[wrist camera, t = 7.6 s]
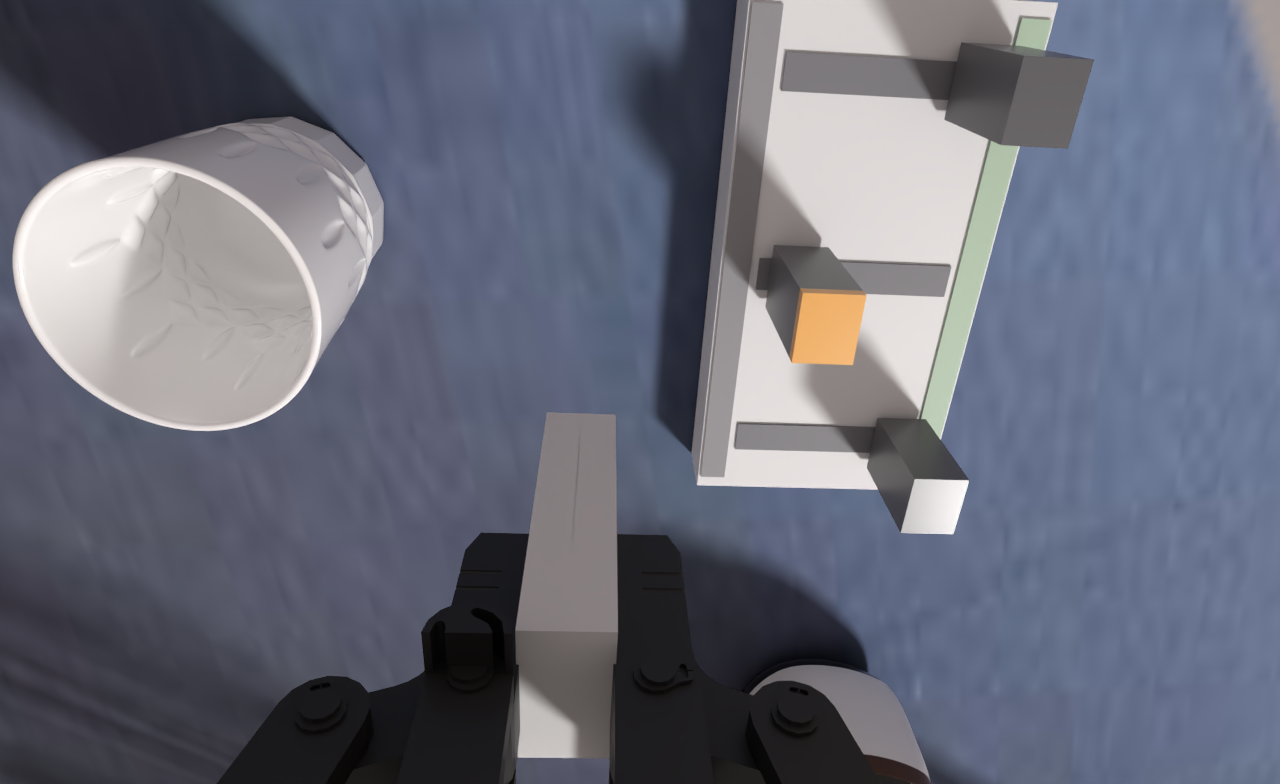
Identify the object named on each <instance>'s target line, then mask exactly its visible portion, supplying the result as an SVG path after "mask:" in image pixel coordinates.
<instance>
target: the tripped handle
mask: <svg viewBox="0 0 1280 784" xmlns="http://www.w3.org/2000/svg"><path fill="white" fill-rule="evenodd" d="M866 296H867V295H866V294H865V293H864V291H863V290H862V289H861V288H860V286H859V285H858V284H857V283H856V281H855V280H854V279H853V278H852V276H851V275H850V274H849V273H848V271H847V270H846V269H845V267H844V266H843V265H842V264H841V262H840V261H839V260H838V259H837V257H836V256H835V255H834V254H833V252H832V251H831V250H830V249H829V247H809V246H785V245H774V248H773V255H772V262H771V270H770V277H769V284H768V291H767V299H766V306H765V307H766V310H767V312H768V314H769V316H770V318H771V320H772V322H773V324H774V327H775V329H776V331H777V333H778V335H779V337H780V339H781V341H782V343H783V346H784V348H785V350H786V352H787V354H788V356H789V358H790V360H791V363H805V364H835V365H853V362H854V357H855V351H856V346H857V341H858V336H859V331H860V326H861V321H862V316H863V311H864V306H865V301H866Z"/></svg>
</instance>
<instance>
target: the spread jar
mask: <svg viewBox="0 0 1280 784" xmlns="http://www.w3.org/2000/svg"><path fill="white" fill-rule="evenodd" d="M775 681H796V682H800V683H803V684H807V685H810V686H811V687H813V688H815V689H816V690H818V691H820V692H821V693H823V694H824V695H825V696H826V697H827V698H828V699H829V700H830V701H831V703H832V704H833V705H834V706H835V707H836V709H837V711H838V712H839V714H840V716H841V717H842V719H843V721H844V722H845V724H846V726H847V727H848V729H849V731H850V732H851V734H852V736H853V737H854V739H855V741H856V742H857V744H858V746H859V747H860V749H861V751H862V752H863V754H864V756H865V757H866V759H867V761H868V762H869V764H870V766H871V767H872V769H873V771H874V772H875V774H876V776H877V777H878V779H879V781H880V782H881V784H931V781H930V778H929V774H928V771H927V768H926V765H925V762H924V759H923V757H922V754H921V751H920V749H919V747H918V744H917V742H916V739H915V737H914V734H913V732H912V729H911V727H910V724H909V722H908V720H907V717H906V715H905V713H904V710H903V708H902V706H901V704H900V703H899V701H898V699H897V697H896V695H895V694H894V693H893V691H892V690H891V689H890V688H889V687H888V686H887V685H886V684H885V683H884V682H882V681H881V680H879V679H878V678H876V677H875V676H873V675H871V674H869V673H867V672H865V671H863V670H860V669H858V668H856V667H853V666H851V665H847V664H844V663H840V662H836V661H831V660H824V659H798V660H791V661H786V662H783V663H780V664H777V665H774V666H772V667H770V668H768V669H767V670H765V671H763V672H762V673H760V674H759V675H758V676H757V677H756V678H754V679H753V680H752V681H751V682H750V684H749V685H748V686H747V687H746V689H745V690H744V693H747V694H750V695H754V694H755V693H756V692H757V691H758V690H759V689H760V688H761V687H762V686H764V685H767V684H770V683H772V682H775Z"/></svg>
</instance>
